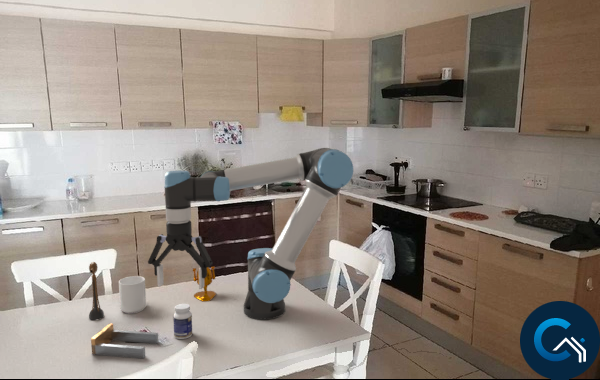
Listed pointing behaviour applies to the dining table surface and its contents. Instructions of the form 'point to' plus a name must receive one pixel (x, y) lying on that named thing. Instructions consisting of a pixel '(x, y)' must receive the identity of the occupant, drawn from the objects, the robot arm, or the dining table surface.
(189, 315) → the pill bottle
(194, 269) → the gold trophy cup
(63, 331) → the dining table surface
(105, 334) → the rail cradle
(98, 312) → the wooden tabletop sculpture
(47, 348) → the dining table surface
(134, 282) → the mug
